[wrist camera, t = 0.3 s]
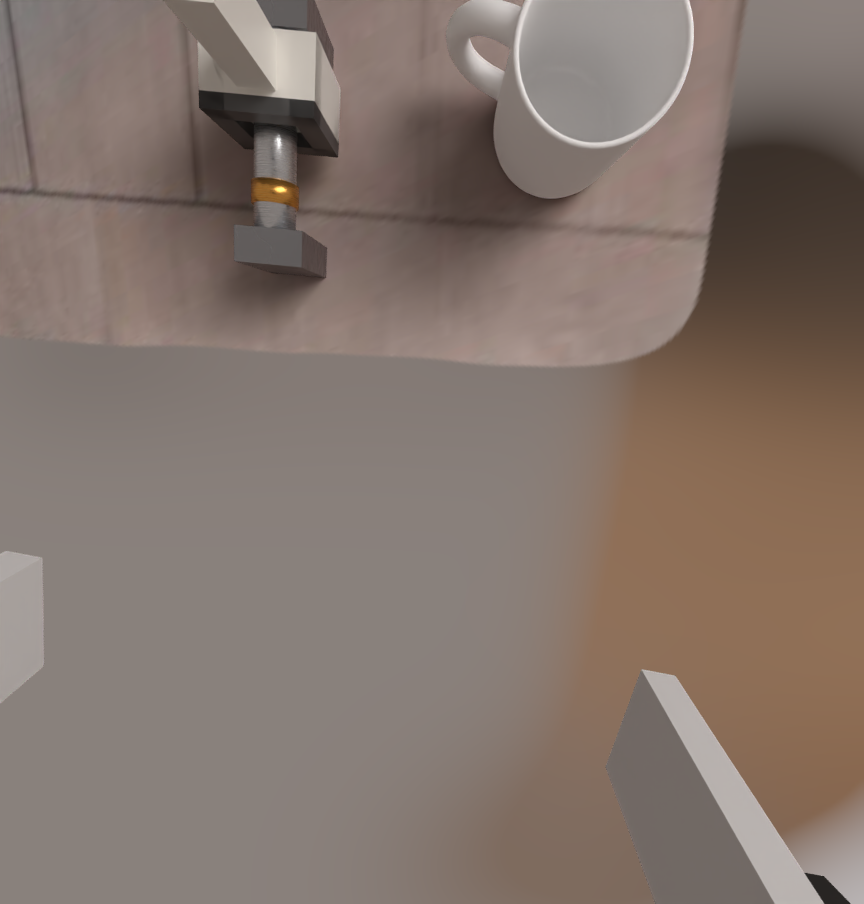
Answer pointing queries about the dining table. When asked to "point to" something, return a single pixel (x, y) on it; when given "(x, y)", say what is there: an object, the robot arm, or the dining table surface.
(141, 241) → the dining table surface
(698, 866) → the robot arm
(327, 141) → the sleeve
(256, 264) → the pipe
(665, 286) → the dining table surface
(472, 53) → the mug
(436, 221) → the dining table surface
